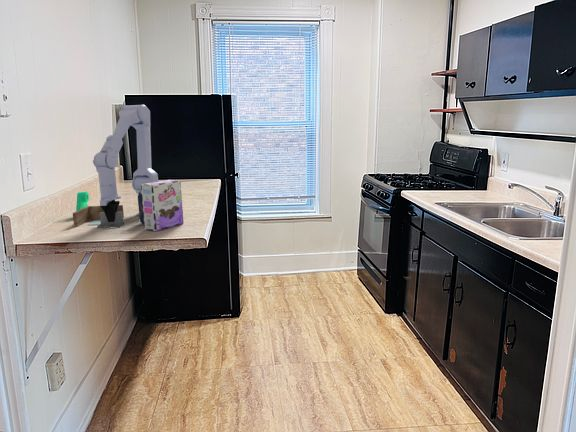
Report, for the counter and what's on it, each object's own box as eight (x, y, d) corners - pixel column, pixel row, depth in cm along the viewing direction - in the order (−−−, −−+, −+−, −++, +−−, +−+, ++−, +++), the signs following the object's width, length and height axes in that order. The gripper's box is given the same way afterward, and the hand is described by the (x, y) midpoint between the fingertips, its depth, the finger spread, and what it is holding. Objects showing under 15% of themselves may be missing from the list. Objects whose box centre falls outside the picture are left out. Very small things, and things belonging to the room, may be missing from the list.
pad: (102, 224, 168) (102, 224, 167) (87, 225, 167) (87, 224, 167) (109, 219, 176) (109, 219, 176) (95, 220, 176) (95, 219, 176)
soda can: (139, 222, 170) (136, 191, 168) (157, 220, 173) (155, 189, 170) (141, 226, 164) (138, 193, 161) (160, 224, 167) (157, 192, 164)
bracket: (123, 224, 167) (122, 211, 166) (119, 227, 163) (118, 214, 162) (102, 225, 167) (100, 212, 166) (97, 228, 162) (95, 214, 161)
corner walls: (124, 217, 179) (122, 204, 178) (112, 225, 166) (111, 211, 165) (88, 218, 179) (86, 206, 177) (74, 227, 165) (72, 213, 164)
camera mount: (96, 218, 180) (93, 193, 178) (76, 219, 179) (73, 194, 177) (104, 212, 192) (101, 189, 189) (85, 213, 191) (82, 189, 188)
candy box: (155, 231, 155) (151, 184, 151) (144, 230, 158) (139, 183, 154) (184, 223, 166) (181, 179, 163) (173, 222, 169) (169, 179, 166)
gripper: (112, 187, 157) (116, 225, 159) (125, 182, 171) (128, 216, 174) (92, 188, 156) (96, 226, 159) (106, 182, 170) (109, 217, 173)
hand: (111, 221), depth 166 cm, fingers closed on bracket
